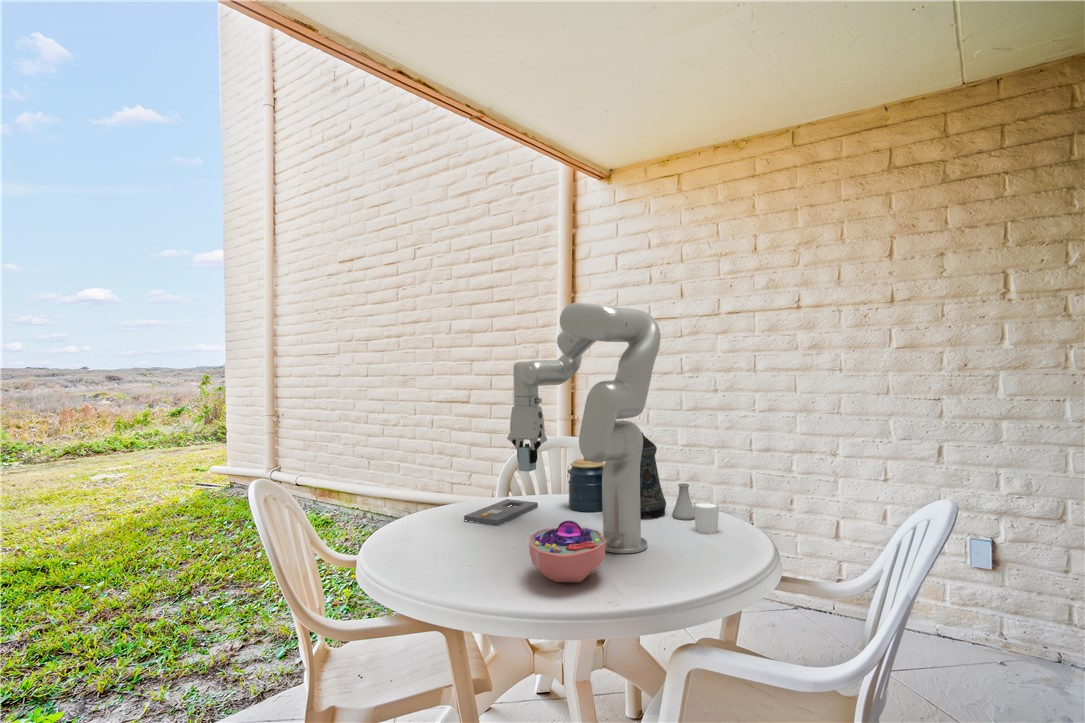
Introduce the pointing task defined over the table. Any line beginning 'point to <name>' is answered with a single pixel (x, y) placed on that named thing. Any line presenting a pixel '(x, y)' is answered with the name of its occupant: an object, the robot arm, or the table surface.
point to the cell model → (567, 552)
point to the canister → (585, 485)
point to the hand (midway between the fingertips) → (527, 461)
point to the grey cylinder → (706, 517)
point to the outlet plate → (501, 512)
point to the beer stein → (650, 483)
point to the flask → (683, 504)
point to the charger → (525, 459)
